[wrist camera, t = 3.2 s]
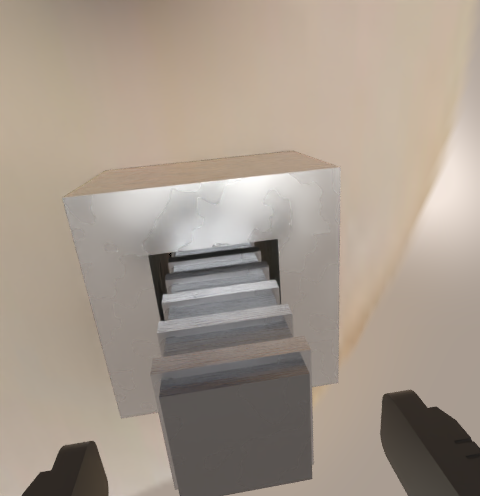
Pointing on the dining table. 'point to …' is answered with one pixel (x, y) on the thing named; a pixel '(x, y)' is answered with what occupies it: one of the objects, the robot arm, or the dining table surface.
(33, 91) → the dining table surface
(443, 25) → the dining table surface
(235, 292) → the column
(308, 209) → the housing
